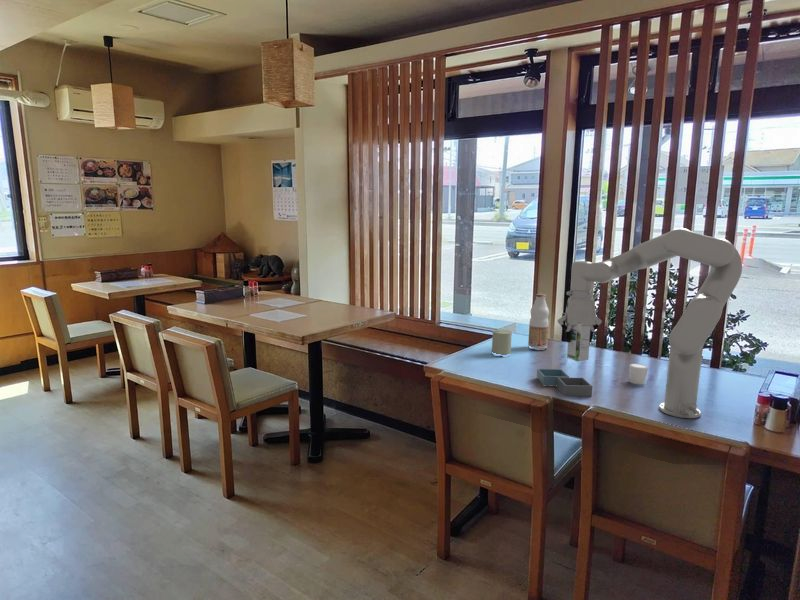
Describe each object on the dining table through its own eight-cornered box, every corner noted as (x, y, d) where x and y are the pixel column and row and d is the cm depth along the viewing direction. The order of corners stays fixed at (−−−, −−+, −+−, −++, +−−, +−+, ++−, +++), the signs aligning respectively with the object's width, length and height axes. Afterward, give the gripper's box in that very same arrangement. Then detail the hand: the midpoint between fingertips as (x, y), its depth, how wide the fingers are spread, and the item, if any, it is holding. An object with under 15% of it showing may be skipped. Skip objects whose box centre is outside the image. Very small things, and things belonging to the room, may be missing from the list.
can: (489, 352, 248) (490, 328, 246) (507, 352, 249) (508, 328, 247) (494, 357, 239) (495, 332, 237) (513, 357, 240) (514, 332, 238)
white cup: (636, 385, 201) (637, 368, 200) (624, 380, 208) (625, 363, 207) (650, 384, 203) (652, 367, 202) (638, 379, 209) (639, 362, 208)
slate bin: (568, 386, 199) (569, 376, 198) (543, 386, 199) (543, 376, 198) (560, 378, 208) (561, 369, 208) (536, 378, 209) (537, 368, 208)
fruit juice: (527, 350, 254) (531, 295, 249) (528, 345, 263) (531, 292, 258) (547, 351, 251) (550, 296, 247) (547, 347, 260) (550, 293, 256)
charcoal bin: (591, 396, 188) (592, 386, 187) (564, 396, 188) (565, 385, 187) (582, 387, 198) (583, 377, 197) (556, 387, 198) (557, 377, 197)
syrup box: (566, 358, 192) (567, 320, 190) (578, 356, 194) (580, 319, 192) (576, 361, 187) (578, 323, 184) (589, 360, 189) (591, 321, 187)
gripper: (560, 296, 183) (558, 343, 186) (608, 296, 183) (605, 343, 186) (554, 293, 191) (552, 339, 193) (600, 293, 190) (598, 339, 193)
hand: (578, 341), depth 189 cm, fingers closed on syrup box, 7 cm apart
